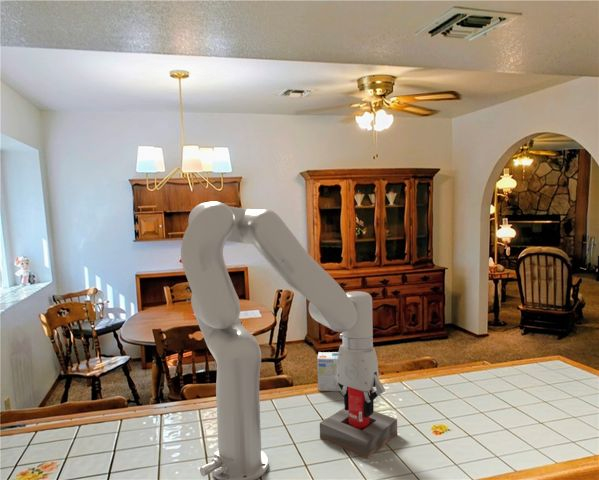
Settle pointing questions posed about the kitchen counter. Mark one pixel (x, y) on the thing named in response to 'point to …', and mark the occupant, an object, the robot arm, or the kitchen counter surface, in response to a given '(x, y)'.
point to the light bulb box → (327, 371)
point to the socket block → (358, 432)
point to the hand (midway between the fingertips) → (358, 411)
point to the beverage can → (357, 409)
